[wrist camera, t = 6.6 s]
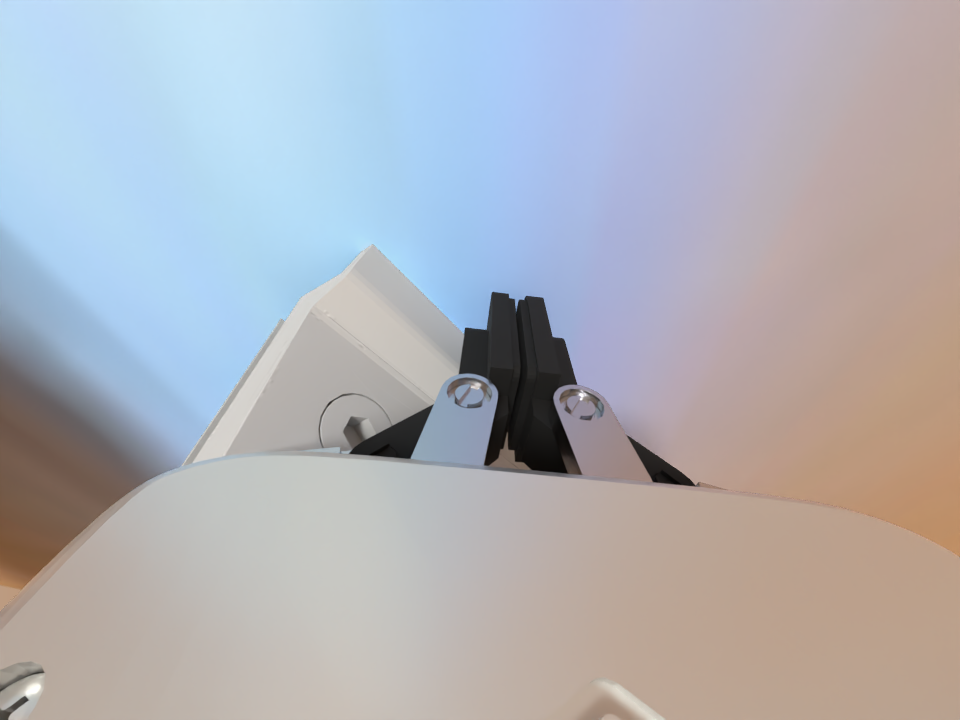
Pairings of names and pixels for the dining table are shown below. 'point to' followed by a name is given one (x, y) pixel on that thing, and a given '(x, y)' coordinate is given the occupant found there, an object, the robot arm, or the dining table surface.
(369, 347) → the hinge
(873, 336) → the dining table surface
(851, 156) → the dining table surface
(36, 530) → the dining table surface
